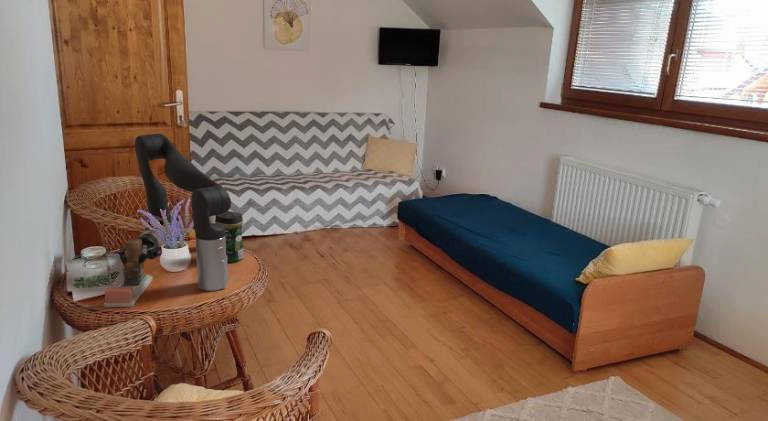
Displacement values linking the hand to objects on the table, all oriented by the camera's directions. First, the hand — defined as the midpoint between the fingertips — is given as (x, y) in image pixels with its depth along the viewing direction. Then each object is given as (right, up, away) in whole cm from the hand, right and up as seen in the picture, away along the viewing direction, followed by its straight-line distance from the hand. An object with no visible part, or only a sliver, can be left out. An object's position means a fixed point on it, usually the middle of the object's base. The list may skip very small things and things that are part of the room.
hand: (132, 260), depth 176 cm
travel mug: (+13, +1, +40) cm, 42 cm away
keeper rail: (0, -10, -2) cm, 10 cm away
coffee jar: (+23, -2, +30) cm, 38 cm away
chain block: (-1, -7, +4) cm, 8 cm away
